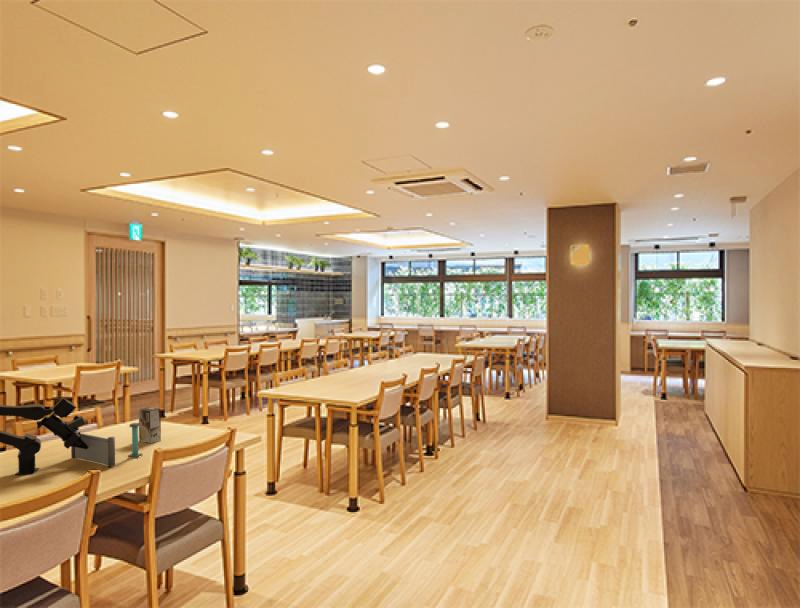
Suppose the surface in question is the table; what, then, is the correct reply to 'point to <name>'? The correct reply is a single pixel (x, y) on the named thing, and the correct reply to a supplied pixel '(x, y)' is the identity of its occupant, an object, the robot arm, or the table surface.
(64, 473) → the table surface
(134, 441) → the post
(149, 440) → the coffee box
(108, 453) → the gate
